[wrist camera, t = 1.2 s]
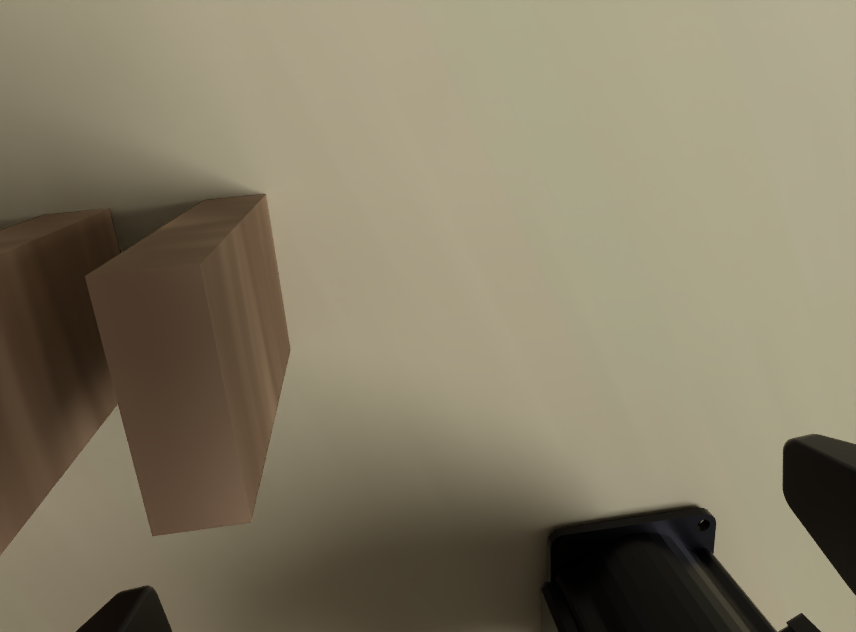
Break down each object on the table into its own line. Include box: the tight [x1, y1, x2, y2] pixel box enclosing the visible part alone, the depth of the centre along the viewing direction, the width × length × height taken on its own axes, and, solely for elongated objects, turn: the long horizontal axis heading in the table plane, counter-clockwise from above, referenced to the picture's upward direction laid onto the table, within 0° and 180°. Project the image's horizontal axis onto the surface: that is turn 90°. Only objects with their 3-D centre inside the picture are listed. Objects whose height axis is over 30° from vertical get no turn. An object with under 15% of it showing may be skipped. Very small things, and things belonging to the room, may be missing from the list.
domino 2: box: [85, 194, 290, 536], centre depth 15 cm, size 2×5×9 cm, turn 4°
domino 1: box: [0, 209, 120, 555], centre depth 15 cm, size 2×5×9 cm, turn 4°
